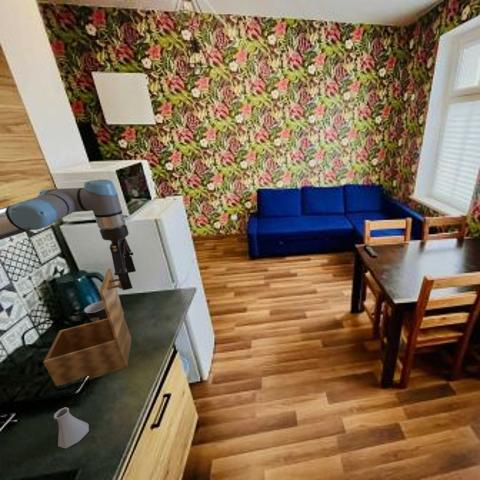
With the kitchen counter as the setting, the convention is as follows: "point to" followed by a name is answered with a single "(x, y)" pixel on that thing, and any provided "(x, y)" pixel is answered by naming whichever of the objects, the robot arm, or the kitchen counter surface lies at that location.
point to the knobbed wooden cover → (112, 302)
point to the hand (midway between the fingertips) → (129, 280)
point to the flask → (69, 428)
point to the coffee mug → (96, 311)
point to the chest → (88, 352)
